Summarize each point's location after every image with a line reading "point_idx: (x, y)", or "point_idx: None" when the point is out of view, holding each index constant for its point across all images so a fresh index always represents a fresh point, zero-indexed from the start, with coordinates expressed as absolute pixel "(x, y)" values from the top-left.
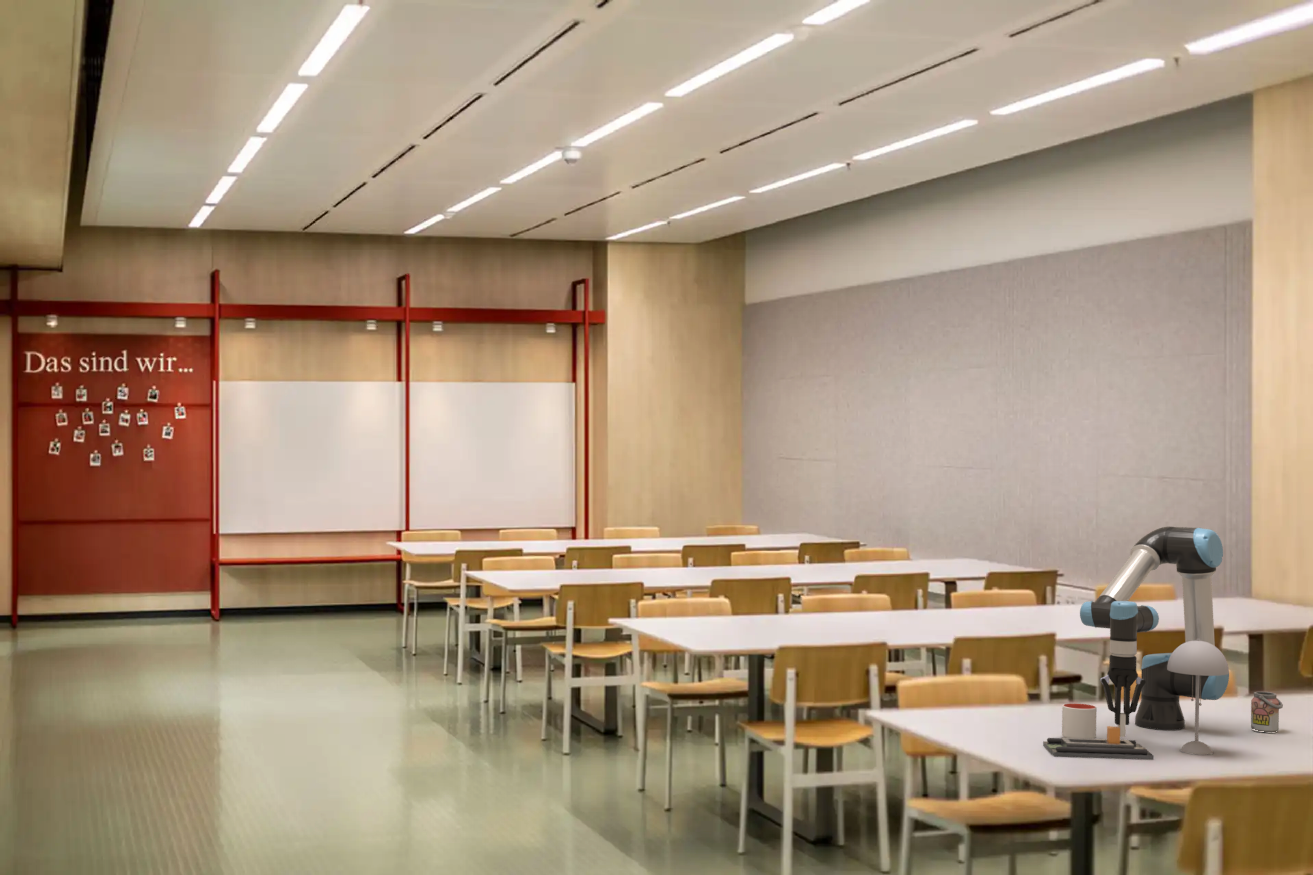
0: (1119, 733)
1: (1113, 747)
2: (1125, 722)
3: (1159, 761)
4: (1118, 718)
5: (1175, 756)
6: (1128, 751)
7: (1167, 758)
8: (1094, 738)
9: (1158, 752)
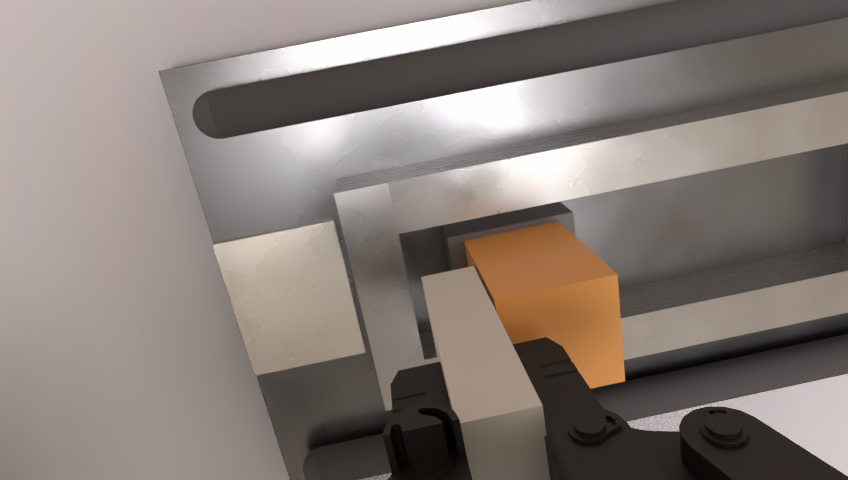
0: (488, 276)
1: (523, 148)
2: (441, 356)
3: (114, 15)
4: (547, 388)
5: (5, 289)
6: (392, 56)
7: (59, 181)
8: None
9: (153, 391)
